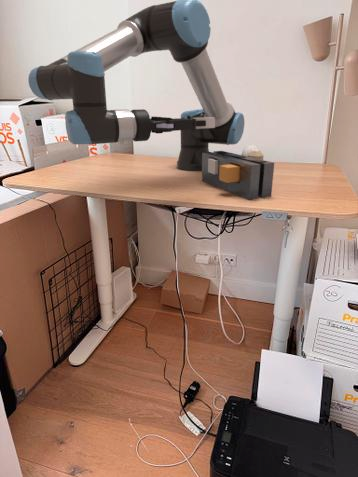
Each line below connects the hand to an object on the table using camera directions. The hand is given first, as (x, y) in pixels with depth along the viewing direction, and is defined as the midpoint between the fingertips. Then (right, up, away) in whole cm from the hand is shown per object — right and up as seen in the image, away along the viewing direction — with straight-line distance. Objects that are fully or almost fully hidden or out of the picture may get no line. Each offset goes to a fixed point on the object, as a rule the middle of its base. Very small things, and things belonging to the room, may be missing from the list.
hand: (213, 122), depth 92 cm
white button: (+3, -10, +20) cm, 23 cm away
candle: (+18, -10, +30) cm, 37 cm away
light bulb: (+18, -6, +39) cm, 44 cm away
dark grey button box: (+8, -15, +18) cm, 25 cm away
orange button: (+6, -14, +9) cm, 18 cm away
